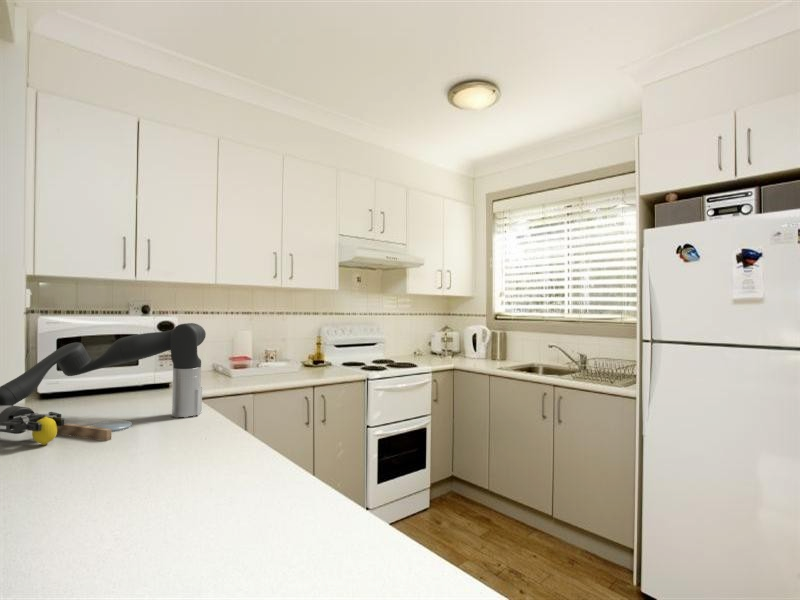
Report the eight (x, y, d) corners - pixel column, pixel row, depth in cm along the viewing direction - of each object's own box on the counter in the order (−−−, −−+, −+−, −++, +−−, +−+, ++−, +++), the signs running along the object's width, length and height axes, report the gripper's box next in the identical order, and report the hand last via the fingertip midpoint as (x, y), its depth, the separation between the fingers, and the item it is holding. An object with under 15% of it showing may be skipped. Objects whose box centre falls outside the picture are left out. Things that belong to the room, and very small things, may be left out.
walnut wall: (49, 432, 137) (49, 422, 137) (54, 431, 139) (54, 421, 139) (106, 440, 130) (106, 430, 130) (111, 439, 131) (111, 429, 131)
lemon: (42, 449, 122) (43, 419, 122) (26, 447, 123) (27, 418, 123) (62, 443, 127) (62, 414, 127) (46, 441, 128) (46, 413, 128)
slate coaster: (137, 422, 150) (137, 420, 150) (122, 432, 139) (122, 429, 139) (97, 423, 148) (97, 421, 148) (79, 433, 136) (79, 431, 136)
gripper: (-19, 411, 123) (23, 416, 117) (38, 401, 136) (77, 405, 131) (-20, 438, 123) (22, 445, 117) (37, 426, 136) (77, 431, 131)
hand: (51, 424), depth 124 cm, fingers closed on lemon, 5 cm apart
